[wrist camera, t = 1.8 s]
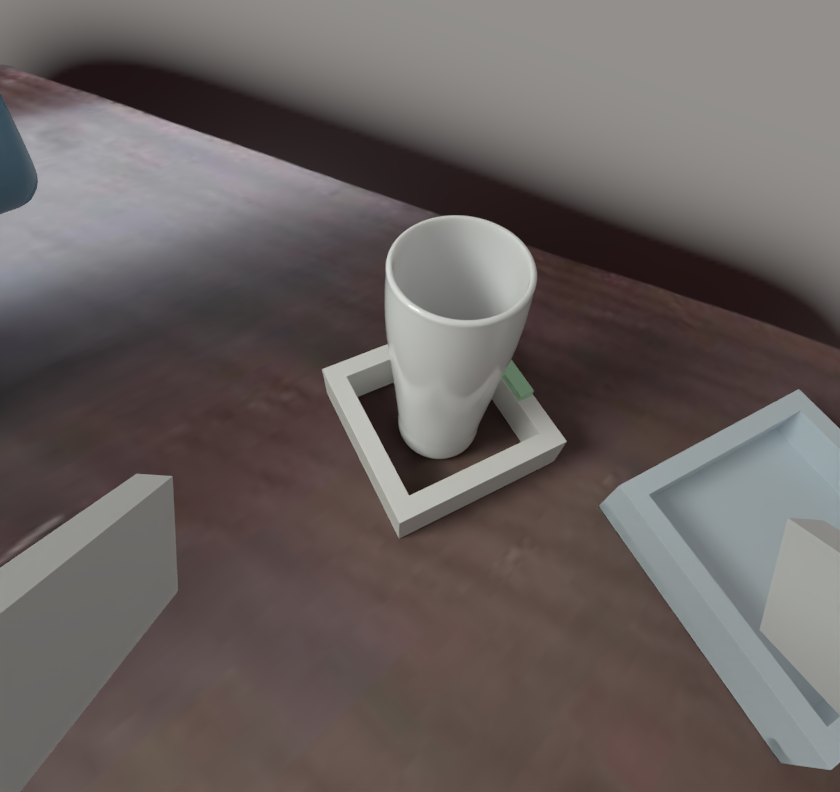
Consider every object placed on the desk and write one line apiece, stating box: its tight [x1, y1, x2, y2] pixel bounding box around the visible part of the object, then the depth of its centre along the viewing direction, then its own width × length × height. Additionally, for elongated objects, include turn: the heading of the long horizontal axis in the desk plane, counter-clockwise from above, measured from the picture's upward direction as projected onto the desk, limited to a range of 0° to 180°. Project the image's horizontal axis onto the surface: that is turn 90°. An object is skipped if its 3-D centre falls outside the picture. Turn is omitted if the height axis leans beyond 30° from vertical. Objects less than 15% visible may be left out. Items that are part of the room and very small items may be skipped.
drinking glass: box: [384, 215, 537, 459], centre depth 29 cm, size 7×7×15 cm
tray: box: [599, 389, 840, 770], centre depth 30 cm, size 15×15×4 cm
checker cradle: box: [322, 344, 567, 539], centre depth 34 cm, size 11×11×4 cm
